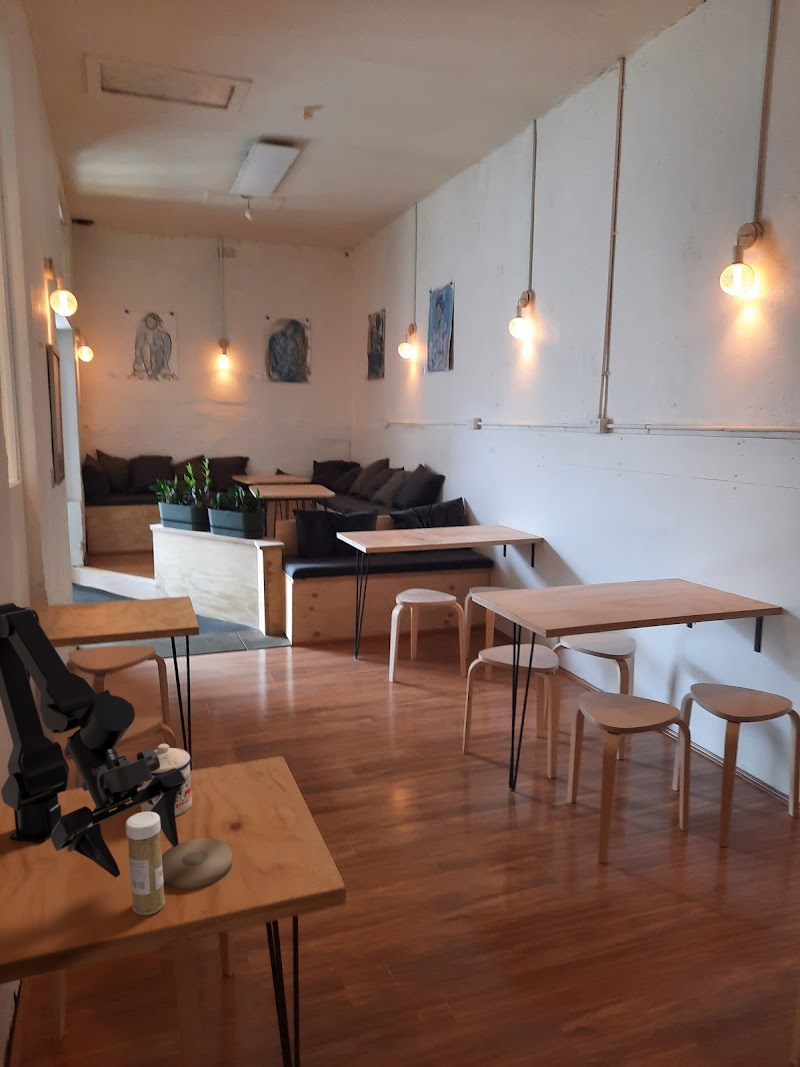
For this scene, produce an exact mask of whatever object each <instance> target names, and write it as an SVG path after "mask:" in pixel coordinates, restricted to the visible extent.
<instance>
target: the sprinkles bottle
mask: <svg viewBox="0 0 800 1067" xmlns="http://www.w3.org/2000/svg"><path fill="white" fill-rule="evenodd" d="M161 830H162V829H161V825H160V817H159V815H158V814H157V813H154V812H142V811H141V812H137V813H135V814H133V815H131V816H129V817H128V818H127V820H126V822H125V835H126V838H127V845H128V863H129V864H128V865H129V875H130V876H129V877H130V878H129V879H130V887H131V895H132V908H131V909H132V911H133V913H134V914H137V915H139V916H150V915H153V914H156V913H157V912H160V910H161V909H163V908H164V907H165V905H166V897H165V890H164V889H165V884H163V881H164V880H163V869H162V855H163V854H162V849H161V836H160V833H161Z"/></svg>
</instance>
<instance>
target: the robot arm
mask: <svg viewBox="0 0 800 1067" xmlns="http://www.w3.org/2000/svg"><path fill="white" fill-rule="evenodd" d="M28 674H29V675H30V678H32V680H33V682H34V683H35V685H36V687H37V688H38V691H39V693H40V700H39V708H38V707H37V703H36V700H35V696H34V694H33V690H32V686H31V682H30V678H29V675H28ZM0 702H1V705H2V709H3V712H4V716H5V720H6V722H7V727H8V730H9V734H10V738H11V742H12V745H13V746H12V750H11V752H10V755H9V758H8V762H7V771H8V777H7V779H6V781H5V782H4V784H3V786H2V787H1V789H0V794H1V797H2V801H3V803H4V804H6V805H7V807H9V808H12V809H13V814H14V815H13V816H14V824H15V826H14V827H15V830H14V831H13V832H11V833H10V834H9V836H8V837H9V838H8V839H10V840H18V841H24V842H32V843H43V842H45V841H46V840H48V839H49V838H50V840H51V843H52V845H53V847H54V849H55V851H57V852H58V851H62V850H63V849H65V848H66V850H67V852H68V853H71V852H73V851H75V852H76V853H78V854H80V855H82V856H84V857H86V858H87V859H89V860H91V861H93V863H95V864H96V865H98V866H99V867H101V868H102V869H103V870H105V871H106V872H107V873H108V874H110V875H111V876H113V877H114V878H118V877H120V875H121V871H120V868H119V865H118V864H117V861H116V860H115V858H114V856H113V854H112V852H111V851H110V849H109V847H108V845H107V843H106V841H105V839H104V837H103V833H102V829H101V824H100V823H102V822H105V821H107V820H109V819H111V818H114V817H116V816H118V815H120V814H122V813H124V812H127V811H130V810H131V809H134V808H135V807H138V806H141V804H143V803H145V802H148V803H149V804H151V805H154V807H153V808H152V810H151V812H154V813H157V814H158V815H159V817H160V825H161V829H160V830H161V831H162V833H163V835H164V836H165V837H166V839H167V841H168V843H170V845H171V847H176V846H177V845H178V844H179V837H178V828H177V822H176V816H175V799H176V796H177V795H178V794H179V793H180V791H181V787H182V786H183V785H184V784H185V782H186V779H185V777H184V775H183V773H182V772H181V771H180V770H178V769H176V768H173V769H171V770H168V771H166V772H164V773H161V774H159V775H157V776H155V777H154V778H153V777H152V774H151V772H152V771H154V770H157V769H159V768H160V762H159V759H158V756H157V755H156V753H155V750H154V748H153V747H150V748H147V749H145V750H143V751H140V752H137V754H136V760H134V761H131V762H130V761H129V758H128V757H127V756H126V755H125V754H124V755H122V756H121V755H120V754H119V752H118V750H117V748H116V746H118V744H119V743H120V742H121V740H122V739H123V738H124V736H125V734H126V733H127V732H128V731H129V729H130V727H131V725H132V724H133V722H134V720H135V717H136V713H135V712H136V711H135V707H134V706H133V705H132V703H131V702H129V701H128V700H126V699H125V698H124V697H121V696H118V695H112V693H111V692H110V690H109V689H104V690H102V691H98V692H97V691H96V690H95V689H94V688H93V687H92V685H90V684H89V682H88V681H87V680H86V679H85V678H83V677H81V676H79V675H77V674H74V673H73V672H71V671H70V669H68V667H67V666H66V664H65V663H64V661H63V659H62V658H61V656H60V654H59V652H58V651H57V650H56V648H55V647H54V645H53V643H52V642H51V640H50V638H49V637H48V635H47V634H46V632H45V630H44V629H43V627H42V626H41V624H40V617H39V615H38V613H37V611H36V610H34V609H31V607H28V606H27V607H26V606H23V607H22V606H21V607H20V606H17V605H16V604H15V603H14V602H7V603H2V604H0ZM38 709H39V710H38ZM39 711H40V712H41V717H42V721H43V724H44V726H45V727H46V728H47V729H48V730H50V731H51V732H52V733H53V734H60V735H61V734H64V733H66V732H69V731H72V730H75V729H77V730H76V731H75V732H74V733H73V734H72V735H70V736H68V737H67V738H66V739H67V740H66V741H67V743H66V745H65V747H64V754H63V749H62V746H61V744H60V743H59V742H58V741H55V742H53V740H51V739H50V738H49V737H47V736H46V735H45V732H44V729H43V728H44V727H43V725H42V721H41V718H40V714H39ZM78 728H79V729H78ZM64 755H65V756H66V757H69V756H71V757H72V759H73V760H72V761H73V762H74V764H75V766H76V768H77V770H78V772H79V774H80V776H81V779H82V780H83V783H82V784H81V788H82V789H83V792H87V791H88V793H89V794H90V797H91V799H92V800H93V803H94V805H95V807H94V809H93V810H92V809H91V808H89V806H86V805H85V806H83V807H80V808H78V809H75V810H72V811H71V812H68V813H65V814H64V815H62V809H61V808H62V806H61V805H62V804H61V803H60V802H59V796H58V795H59V794H60V793H64V792H66V791H67V788H68V779H69V771H70V767H69V764H68V762H67V759H65V757H64ZM152 779H153V780H152ZM149 780H152V781H151V782H150V783H149V785H148V786H147V787H146V788H144V789H142V790H140V787H141V786H142V785H143V783H144V782H143V781H145V782H147V781H149ZM138 789H139V790H138Z"/></svg>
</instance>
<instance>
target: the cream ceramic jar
mask: <svg viewBox="0 0 800 1067" xmlns="http://www.w3.org/2000/svg"><path fill="white" fill-rule="evenodd" d="M154 751H155V753H156V755H157V756H158V759H159V762H160V768H159V769H157V770H154V771H152V772H151V774H152V777H153V778H154V777H155V776H157V775H159V774H161V773H164V772H166V771H168V770H171V769H173V768H176V769H178V770H180V771H181V772H182V773H183V775H184V777H185V779H186V782H185V784H184V785H183V786H182V787H181V791H180V793H179V794H178V795H177V796H176V799H175V817H177V815H178V816H180V815H182V814H183V812H184V813H185V812H187V811H186V810H187V809H188V808H189V807H190V808H191V806H192V803H193V797H192V796H193V795H192V780H191V762H192V757H191V755H190V753H189V752H187V751H186V750H185V749H181V748H175V747H174V748H173V747H170V745H169V744H168V743H161V744H159V745H158V746H157V748H156V749H155V750H154ZM152 780H153V779H152ZM152 780H149V781H147V782H145V781H143V782H144V783H143V785H142V786H141V787H139V791H140V790H142V789H144V788H146V787H147V786H148V785H149V783H150V782H151V781H152ZM140 807H141V808H140V810H141V812H151V810H152V808H153V807H154V805H151V804H149V803H148V802H145V803H143V804H140ZM190 808H189V809H190ZM189 809H188V810H189Z"/></svg>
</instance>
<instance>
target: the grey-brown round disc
mask: <svg viewBox="0 0 800 1067" xmlns="http://www.w3.org/2000/svg"><path fill="white" fill-rule="evenodd" d="M232 853H233V852H232V849H231V847H230V845H228V844H227V843H226V842H224V841H222V840H219V839H214V838H194V839H189V840H186V841H182V842H180V843H179V842H178V845H177V846H176V847H173V846H171V847H170V848H168V849H167V850H166V851H164V853H162V854H161V855H162V869H163V880H164V881H163V885H164V886H167V887H169V888H172V889H176V890H194V889H195V890H196V889H201V888H204V887H207V886H210V885H213V884H215V883H217V882H218V881H220V880H221V879H223V878H224V877H225V876H226V875H227V874H229V872H230V871H231V869H232V867H233V866H232V865H233V854H232Z"/></svg>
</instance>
